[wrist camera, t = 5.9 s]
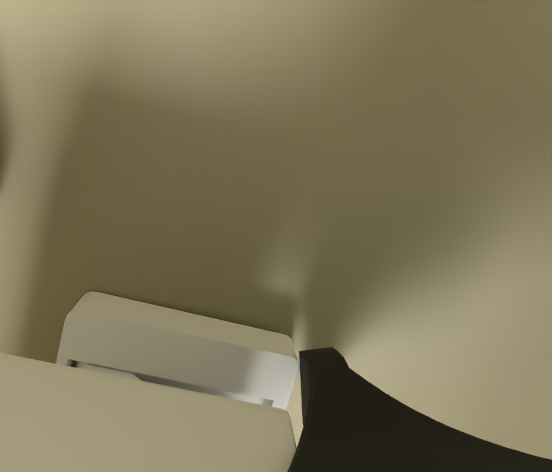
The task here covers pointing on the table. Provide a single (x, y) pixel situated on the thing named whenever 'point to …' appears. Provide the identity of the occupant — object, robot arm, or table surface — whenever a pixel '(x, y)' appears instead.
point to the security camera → (149, 395)
